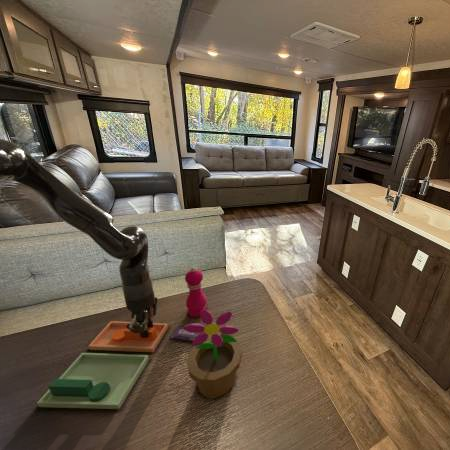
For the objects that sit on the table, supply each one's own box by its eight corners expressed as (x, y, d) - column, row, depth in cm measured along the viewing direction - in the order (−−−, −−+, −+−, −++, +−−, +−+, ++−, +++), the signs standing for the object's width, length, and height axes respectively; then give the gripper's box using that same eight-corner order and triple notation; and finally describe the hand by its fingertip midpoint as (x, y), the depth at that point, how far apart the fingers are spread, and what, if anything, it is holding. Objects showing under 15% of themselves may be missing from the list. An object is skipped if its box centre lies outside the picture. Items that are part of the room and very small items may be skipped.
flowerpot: (186, 412, 63) (173, 323, 52) (193, 362, 76) (183, 282, 64) (243, 399, 67) (243, 315, 56) (240, 354, 80) (240, 277, 68)
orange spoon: (109, 342, 79) (107, 333, 78) (118, 331, 83) (116, 322, 82) (151, 343, 80) (150, 335, 78) (158, 333, 84) (157, 324, 82)
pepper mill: (185, 319, 91) (180, 274, 83) (188, 305, 98) (183, 262, 90) (206, 316, 93) (203, 272, 85) (207, 303, 100) (204, 261, 92)
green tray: (39, 408, 61) (36, 403, 60) (83, 357, 74) (82, 352, 73) (119, 410, 62) (117, 405, 61) (149, 360, 75) (148, 355, 75)
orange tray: (89, 351, 76) (87, 346, 75) (111, 325, 86) (110, 321, 85) (153, 353, 77) (152, 348, 77) (168, 328, 87) (167, 323, 86)
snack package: (169, 335, 82) (177, 324, 86) (170, 340, 82) (178, 328, 87) (203, 340, 81) (209, 328, 86) (204, 344, 82) (210, 332, 87)
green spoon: (114, 385, 67) (111, 376, 66) (102, 402, 63) (99, 392, 62) (63, 383, 66) (59, 374, 65) (48, 401, 62) (43, 391, 61)
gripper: (139, 276, 80) (147, 317, 87) (110, 306, 68) (122, 351, 74) (162, 278, 81) (169, 318, 88) (138, 307, 68) (148, 352, 75)
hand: (147, 333), depth 81 cm, fingers closed
